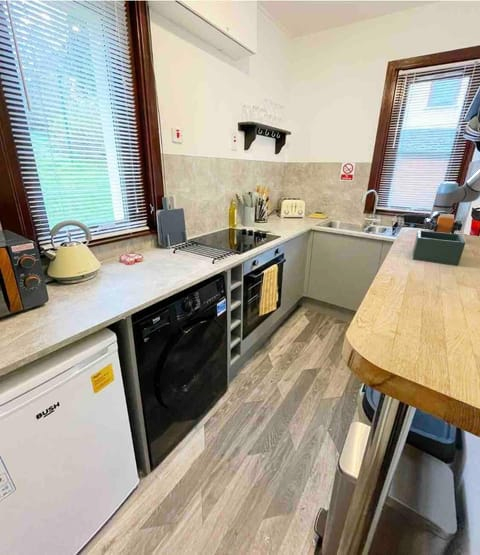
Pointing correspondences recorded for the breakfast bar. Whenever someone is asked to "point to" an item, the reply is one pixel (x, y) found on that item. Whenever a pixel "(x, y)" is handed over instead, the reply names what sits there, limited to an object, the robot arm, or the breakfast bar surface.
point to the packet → (445, 223)
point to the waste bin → (438, 247)
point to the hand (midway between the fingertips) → (444, 229)
